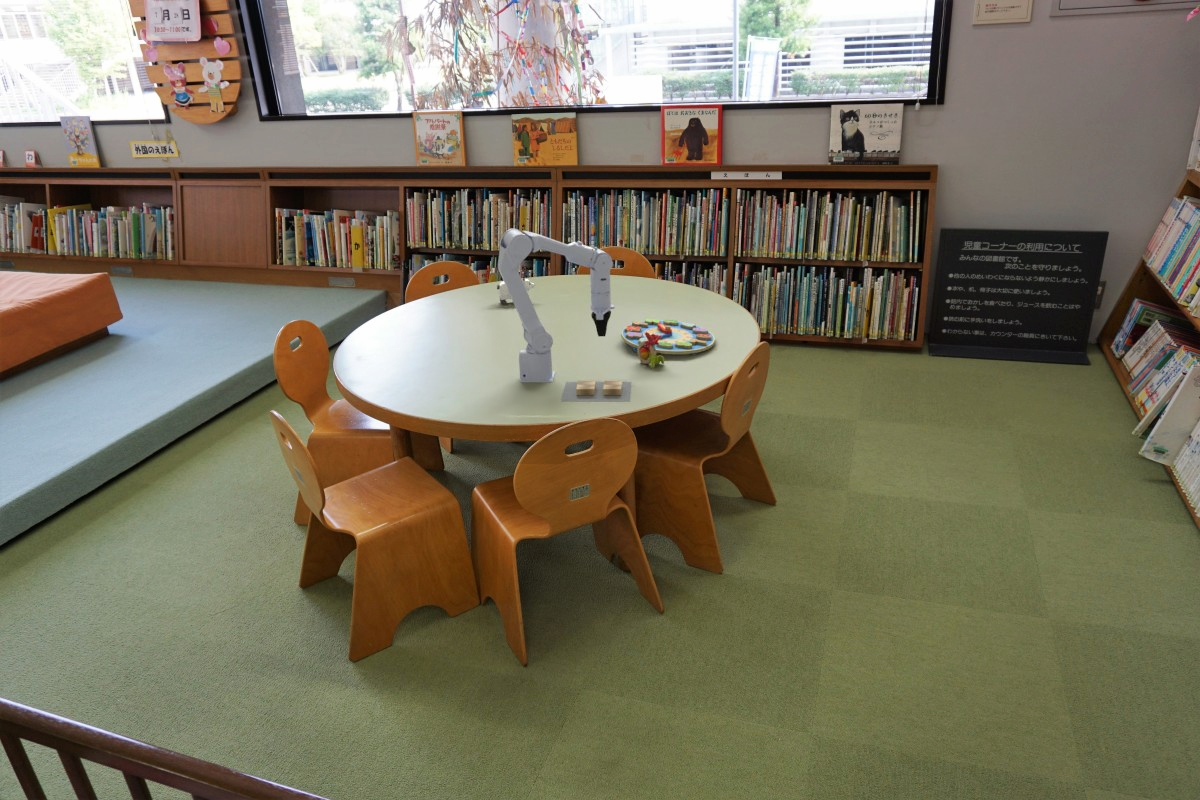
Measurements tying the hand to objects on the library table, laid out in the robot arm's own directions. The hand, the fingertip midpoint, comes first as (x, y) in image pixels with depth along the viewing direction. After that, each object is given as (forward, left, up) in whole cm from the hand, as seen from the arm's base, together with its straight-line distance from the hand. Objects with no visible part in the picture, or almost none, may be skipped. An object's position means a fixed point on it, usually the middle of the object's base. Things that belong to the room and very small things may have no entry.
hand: (601, 335), depth 241 cm
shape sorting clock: (+20, +23, -11) cm, 32 cm away
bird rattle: (+14, +2, -11) cm, 18 cm away
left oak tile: (-3, -16, -9) cm, 19 cm away
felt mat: (0, -19, -10) cm, 22 cm away
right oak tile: (+4, -16, -9) cm, 19 cm away
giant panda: (-38, +70, -11) cm, 80 cm away
